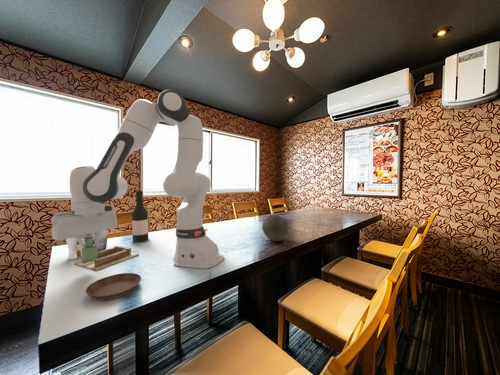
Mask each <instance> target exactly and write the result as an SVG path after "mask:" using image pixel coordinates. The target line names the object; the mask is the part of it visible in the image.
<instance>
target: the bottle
mask: <svg viewBox="0 0 500 375" xmlns="http://www.w3.org/2000/svg"><path fill="white" fill-rule="evenodd" d="M84 241H85V242H87V244H86V245H87V246H86V247H83V248H81V249H82V258H81V261H82V262H91V261H94V260H96V259H97V252H98V251H97V246H96V245H93V236H88V237H85V239H84Z"/></svg>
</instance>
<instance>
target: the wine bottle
mask: <svg viewBox="0 0 500 375" xmlns="http://www.w3.org/2000/svg"><path fill="white" fill-rule="evenodd" d="M135 194H136V196H135V197H136V205H135V208H134V209H133V211H132V213H131V223H132V224H131V226H132V227H131V228H132V243H136V242H137V243H143V242H144V243H145V242H147V241H148V240H149V215H148V214H149V212H148V210H147V209H146V207H145V206H144V196H143V195H144V193H143V190H142V189H137V190H136V192H135Z"/></svg>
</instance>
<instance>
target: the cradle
mask: <svg viewBox="0 0 500 375" xmlns="http://www.w3.org/2000/svg"><path fill="white" fill-rule="evenodd" d="M139 255H140V253H135V252H132V247H131V248H130V247H126V246H122V245H114V246H113V247H111V248H106V249H103V250H99V251H97V259H96V260H94V261H91V262H82V260H80V261H77V262H74V263H73V264H74V265H76V266H78V267H82V268H86V269H89V270H92V271H95V272H98V271H100V270H103V269H106V268H109V267H112V266H114V265H117V264H119V263H122V262H125V261H126V260H127V261H128V260H130V259H132V258H135V257H138V256H139Z"/></svg>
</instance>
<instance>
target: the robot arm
mask: <svg viewBox="0 0 500 375" xmlns="http://www.w3.org/2000/svg"><path fill="white" fill-rule="evenodd" d="M190 113H191V110H190V108H189V106H188V104H187V102H186V100H185V98H184V97H183V95H182V94H181V93H180V92H179V91H177V90H175V89H169V88H168V89H165V90H163V91H162V92H160V93H159V95H158V97H157V99H156V102H151V101H149V100H147V99H144V98H143V99H142V98H139V99H136V100H135V101H134V102H133V103H132V104H131V106H130V107H129V109H128V110H127V112H126V114H125V116H124V118H123V120H122V122H121V125H120V127H119V128H118V131H117V133H116V134H115V136H114V139H113V140H112V141H111V144H110V145H109V146H108V148H107V150H106V152H105V154H104V155H103V157H102V159H101V160H100V163H99V164H98V166H97V167H96V166H93V165H88V166H87V165H86V166H79V167H75V168H73V169H71V171H70V175H69V192H70V195H71V200H70V211H65V212H57V213H55V214H54V215H53V216H52V217H51V219H50V220H51V221H50V222H51V225H52V228H51V238H52V239H53V240H55V241H63V240H66V239H68V238H73V237H75V239H76V240H77V241H78V242H79V245H80V248H83V247H86V246H87V245H86V244H87V242H83V241H82V238H83V235H86V234H91V233H94V234H95V237H94V239H93V244H97V243H98V239H99V237H100V235H101V231H104V230H107V231H109V230H112V229H116V228H117V227H118V218H117V214H116V212H115V210H116V207H115V206H114V205H111V204H107V202H109V201H111V200H116V199H119V198H122V197H123V196H125V195H126V194H127V192H128V191H129V184H128V181H127V180H126V179H125V178H124V177H122V176H120V173H121V170H122V169H123V167H124V165H125V163H126V161H127V159H128V157H130V155H131V154H132V153H134V152H136V151H138V150H141V149H143V148H145V147H146V146H147V144H148V143H149V142H150V140H151V138H152V137H153V133H154V132H155V129H156V127H157V125H158V124H159V125H165V126H170V127H171V126H172V127H173V126H175V128H176V130H177V134H176V135H177V139H176V140H177V141H176V156H175V157H176V158H175V161H174V164H173V167H172V169H171V171H170V172H169V173H168V174H167V175H166V176H164V179H163V182H162V187H163V191H164V192H165V193H166V194H167V195H168V196H170V197H174V198H179V199H180V198H182V202H181V204H180V205H179V207H178V208H177V209H176V227H175V236H176V243H175V252H174V253H175V254H174V256H173V266H176V267H183V268H184V267H186V268H194V269H202V270H203V269H204V270H205V269H207V270H208V269H210V268H212V267H215V266H217V265H220V263H221V262H223V260H224V259H225V255H224V254H221V253H220V251H219V247H218V245H217V243H215V241H213V240H212V239H211V238H210V237H208V235H206V234H207V233H206V232H207V231H208V228H206V229H205V227H204V225H203V208H204V204H205V199H206V196H207V193H209V191H210V189H211V186H212V185H211V180H210V178H209V177H208V176H207V175H206V174H204V173H201V172H197V169H198V166H199V164H200V163H201V162H202V160H203V159H204V158H203V157H204V156H203V155H204V130H203V123H202V121H201V119H200V118H199V117H198V116H196V115H193V114H190ZM102 202H106V204H101V203H102Z"/></svg>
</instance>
